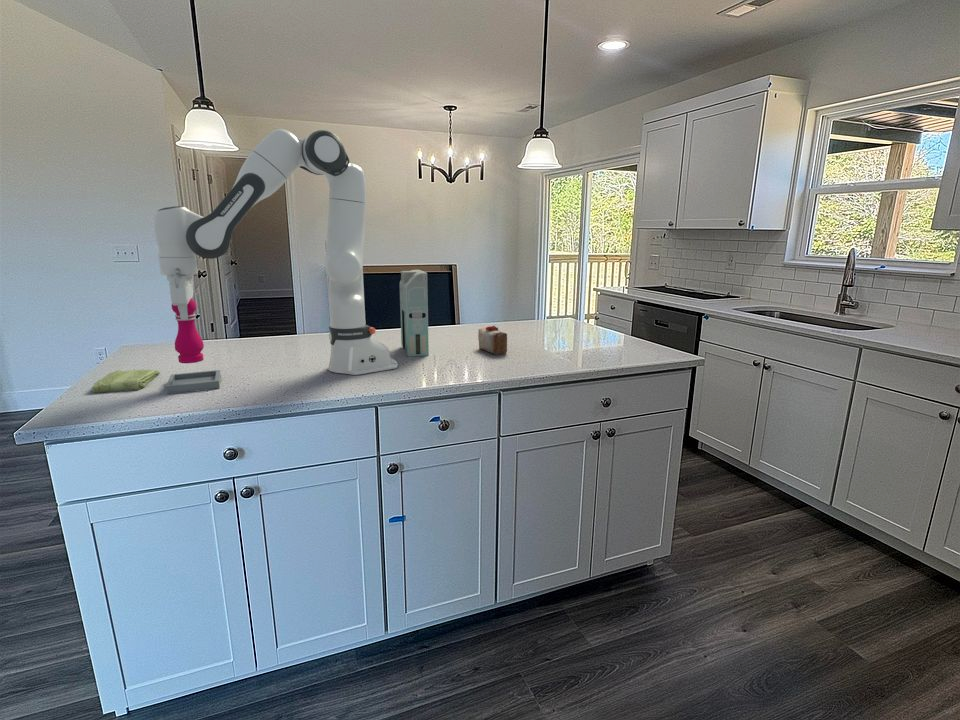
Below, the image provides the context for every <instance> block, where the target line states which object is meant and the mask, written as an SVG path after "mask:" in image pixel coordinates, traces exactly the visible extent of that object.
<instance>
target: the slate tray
mask: <svg viewBox="0 0 960 720" xmlns="http://www.w3.org/2000/svg"><path fill="white" fill-rule="evenodd" d="M220 379H222V375H221V369H214V370H213V369H212V370H203V371H193V372H184V373H171V374H170V376H169V378H168V379H167V382H166V384H165V391H166V392H165V393H166V395H170V394H169V393H172V394H180V393H179V392H181V393H189V392H188V391H190V392H197V391H196V390H199V391H207V390H206V389H209V390H216V389H215V388H218V389H220V388H221V380H220Z"/></svg>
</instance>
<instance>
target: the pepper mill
mask: <svg viewBox="0 0 960 720" xmlns="http://www.w3.org/2000/svg"><path fill="white" fill-rule="evenodd" d="M171 310H172V312H174V313H175V315H174V317H175V320H176V321H177V325H178V327H177V329H178V330H177V334H176V338H175V341H174V350H175V351H176V352H177V353H178V354H179V355H178V356H177V357H178V358H177V359H178V362H179V363H180V364H195V363H199V362H203V361H204V360H205V359H204V354H203V353H202V351H203V349H204V347H205V345H204V340H203V338H202V337H201V335H200V334H199V331H198V329H197V328H196V322H195V320H196V319H197V318H196V314H195V312H196V310H197V303H196V301H195V300H194V299H193V298H191V299H190V301H189V303H188V304H187V312H188V319H186V320H182V319H181V318H180V313H179V309H178V305H173V304H172V303H171Z"/></svg>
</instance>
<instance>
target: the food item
mask: <svg viewBox="0 0 960 720" xmlns="http://www.w3.org/2000/svg"><path fill="white" fill-rule="evenodd" d="M477 333H478V334H477V336H478V338H477V340H478V348H479V349H481V350H482V351H485V352H488V353H490V354H492V355H494V356H496V355H497V356H498V355H506V354H507V353H508V333H506V332H504V331H501V330H499V326H496V325H492V326H486V327H481V328H478V332H477Z"/></svg>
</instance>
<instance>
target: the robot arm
mask: <svg viewBox="0 0 960 720" xmlns="http://www.w3.org/2000/svg"><path fill="white" fill-rule="evenodd" d="M298 168H301V169H303V170H304V171H306V172H308V173H310V174H314V175H317V176H323V175H324V176H325V177H326V179H327V182H328V185H329V193H328V212H327V215H328V216H327V232H326V233H327V234H326V244H325V245H326V247H325V257H324V258H325V260H324V261H325V262H324V268H325V272H326V274H327V280H328V283H327V285H328V309H329V310H328V311H329V322H330V325H329V329H328V336H329V338H328V339H329V344H330V358H329V361H328V362H329V363H328V367H327V370H328V371H329V372H332V373H337V374H348V375H352V376H353V375H354V376H358V375H363V374H369V373H376V372H382V371H388V370H394V369H397V368H398V366H399V363H398V362H397V360H395V358H392V357H391V353H390V350H389V348H388V346H387V345H386V344H385V343H382V341H380V340H378V339H377V338H376V337H374V336H373V335H375V334H376V332H377V330H376V328H375V327H372V326H370V325H368V324H366V310H365V307H366V306H365V288H364V287H365V286H364V270H363V269H364V268H363V267H364V249H365V232H366V231H365V230H366V214H367V213H366V211H367V210H366V209H367V184H366V183H367V182H366V175H365V172H364V170H363V169H362V168H361V167H360V165H357V164H355V163H352V162H350V157H349V156H348V154H347V152H346V149H345V146H344V144H343V142H342V141H341V139H340V138H339V136H337V135H336V134H335V133H333V132H332V131H328V130H325V129H319V130H316V131H313V132H312V133H311V134H309V135H308V136H307V137H305V138H299V137H297V136H296V135H295V134H293V133H292V132H291V131H290V130H288V129H284V128H277V129H275V130H273V131H272V132H270V133H269V134H268V135H266V137H264V138H263V139H262V140H261V141H260V142H259V143H257V145H256V146H255V147H254V148H253V150H251V152H250V153H249V154H248V156H247V157H246V159H245V160H244V162H243V163H242V165H241V167H240V170H239V172H238V175H237V177H236V179H235V182H234V184H233V186H232V188H231V189H230V190H229V192H228V193H227V194H226V195H225V197H224V198H223V199H222V200H221V201H220V202H219V204H218V205H217V206H216V207H215V208H214V209H213V210H212V211H211V213H209V214H208V215H206V216H202V215H200V214H198V213H195V212H194V211H192V210H190V209H188V208H187V207H186V206H183V205H182V206H181V205H180V206H178V205H176V206H168V207H163V208H159V209H158V210H157V211H156V212H155V214H154V219H153V221H154V223H153V225H154V226H153V227H154V236H155V240H156V241H155V242H156V243H157V245H158V263H159V268H160V269H159V270H160V274H161V275H163V276H166V280H167V281H168V282H169V284H168V285H169V292H170V293H169V294H170V300H171V305H172V304H173V305H178V309H179V313H180V318H181V319H182V320H186V319H188V312H187V304H188V303H189V301H190V299H193V297H194V283H195V282H194V279H195V278H194V275H197V274H199V271H198V263H197V256H198V257H200V258H203V259H209V260H211V259H212V260H213V259H216V258H220V257H222V256H223V255H225V254H226V253H227V251H228V250H229V247H230V245H231V242H232V235H233V232H234V231H235V229H236V227H237V226H238V225H239V224H240V223H241V221H242V220H243V219H244V217H245V216H246V215H247V214H248V213H249V211H250V210H251V209H252V208H253V207H254V206H255V205H256V204H257V203H259V202H261V201H262V200H264V199H265V200H266V198H269V197H271V196H272V195H273V194H275V193H276V192H277V191H278V190H279V189H280V188H281V187H282V186H283V185H284V184H285V183H286V181H287V180H288V179H289V178H290V176H291V175H292V174H293V173H294V171H296V170H297V169H298Z"/></svg>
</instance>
